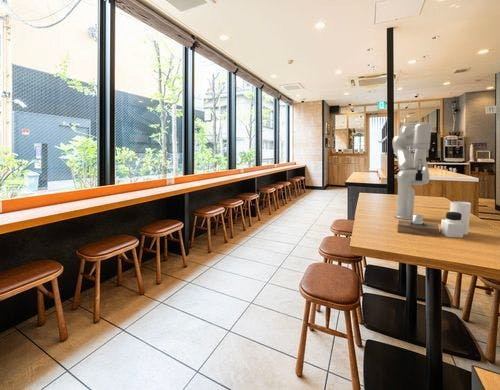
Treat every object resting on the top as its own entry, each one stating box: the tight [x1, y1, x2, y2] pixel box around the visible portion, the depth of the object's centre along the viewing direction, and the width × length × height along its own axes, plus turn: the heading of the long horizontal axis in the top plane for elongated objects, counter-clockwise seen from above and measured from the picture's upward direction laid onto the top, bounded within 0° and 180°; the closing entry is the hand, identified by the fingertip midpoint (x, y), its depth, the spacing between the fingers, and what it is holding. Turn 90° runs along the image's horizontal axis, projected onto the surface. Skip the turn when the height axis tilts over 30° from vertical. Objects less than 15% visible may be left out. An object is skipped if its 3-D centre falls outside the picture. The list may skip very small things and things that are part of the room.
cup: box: [449, 200, 472, 236], centre depth 133 cm, size 8×8×16 cm
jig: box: [397, 219, 440, 238], centre depth 137 cm, size 12×18×4 cm, turn 57°
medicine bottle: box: [439, 211, 465, 239], centre depth 128 cm, size 7×7×12 cm
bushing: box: [411, 213, 424, 225], centre depth 136 cm, size 5×5×9 cm
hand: (418, 180), depth 139 cm, fingers closed
